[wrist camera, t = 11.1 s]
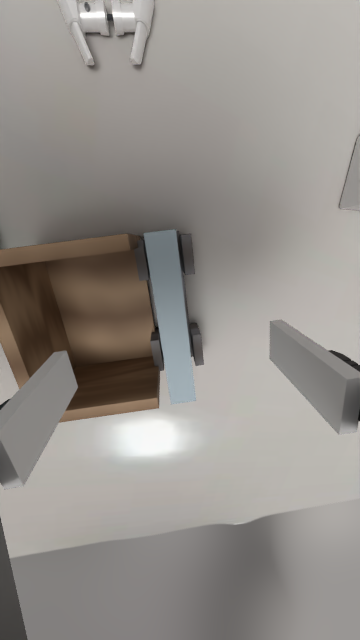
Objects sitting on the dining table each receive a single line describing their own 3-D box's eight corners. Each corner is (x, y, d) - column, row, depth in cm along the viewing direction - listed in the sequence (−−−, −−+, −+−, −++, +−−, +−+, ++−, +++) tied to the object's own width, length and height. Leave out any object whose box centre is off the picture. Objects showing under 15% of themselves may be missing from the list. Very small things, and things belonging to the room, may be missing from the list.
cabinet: (35, 249, 27) (-36, 254, 17) (186, 230, 27) (199, 224, 18) (72, 370, 32) (34, 425, 22) (199, 353, 32) (214, 400, 23)
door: (150, 235, 26) (143, 233, 18) (171, 232, 26) (175, 229, 18) (169, 360, 32) (171, 404, 23) (187, 357, 32) (196, 400, 23)
